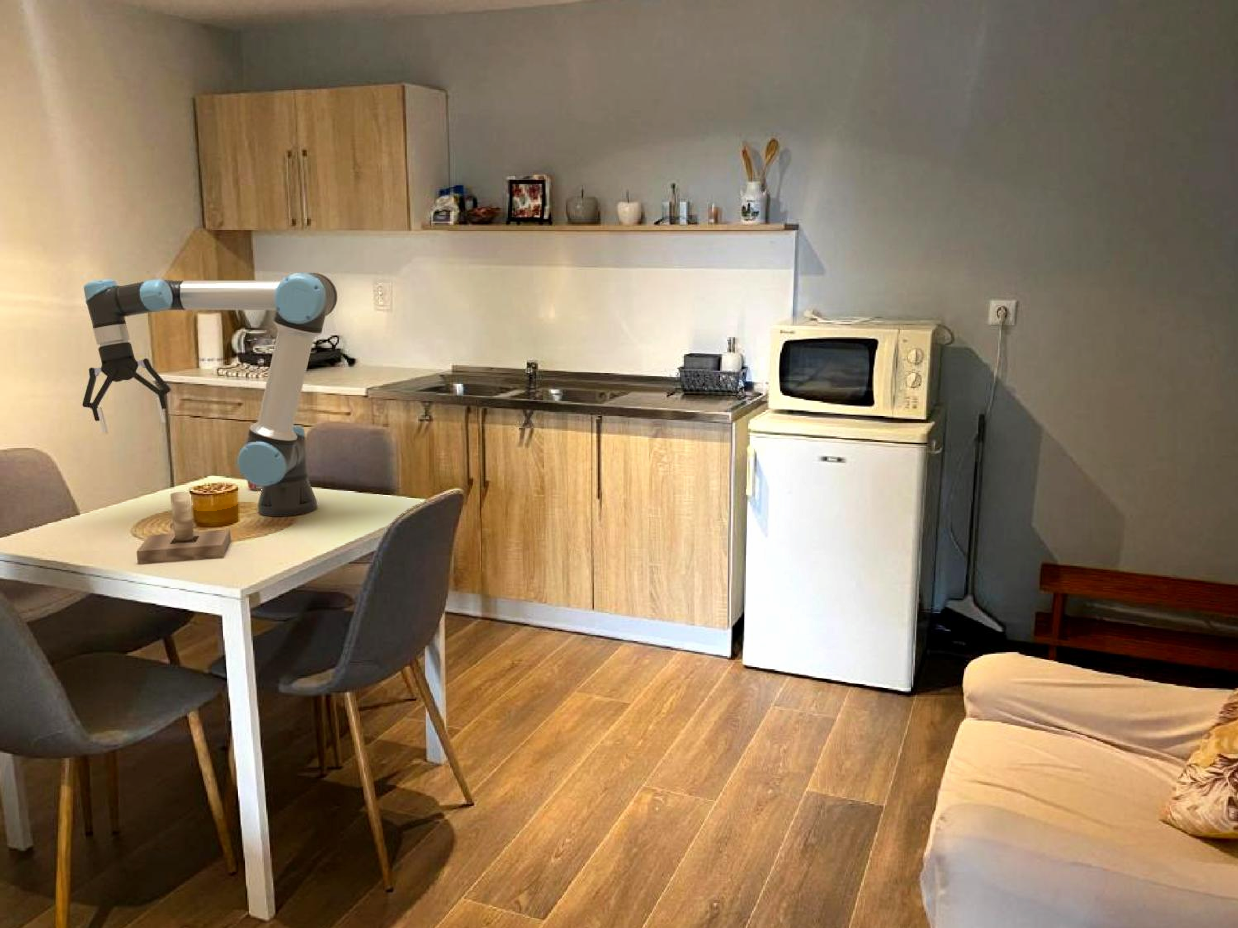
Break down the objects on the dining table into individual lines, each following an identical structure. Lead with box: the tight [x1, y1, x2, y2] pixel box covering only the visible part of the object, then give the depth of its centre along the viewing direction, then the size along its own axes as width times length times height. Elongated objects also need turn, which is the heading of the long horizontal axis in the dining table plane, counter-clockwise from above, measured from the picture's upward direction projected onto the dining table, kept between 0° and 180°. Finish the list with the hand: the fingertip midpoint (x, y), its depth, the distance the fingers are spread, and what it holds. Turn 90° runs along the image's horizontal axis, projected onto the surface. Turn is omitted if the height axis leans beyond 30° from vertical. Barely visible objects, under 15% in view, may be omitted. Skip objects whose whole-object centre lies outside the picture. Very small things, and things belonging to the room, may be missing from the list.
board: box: [136, 529, 232, 565], centre depth 240 cm, size 18×14×3 cm
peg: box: [169, 491, 194, 544], centre depth 239 cm, size 4×4×14 cm
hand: (135, 428), depth 258 cm, fingers open, 13 cm apart
